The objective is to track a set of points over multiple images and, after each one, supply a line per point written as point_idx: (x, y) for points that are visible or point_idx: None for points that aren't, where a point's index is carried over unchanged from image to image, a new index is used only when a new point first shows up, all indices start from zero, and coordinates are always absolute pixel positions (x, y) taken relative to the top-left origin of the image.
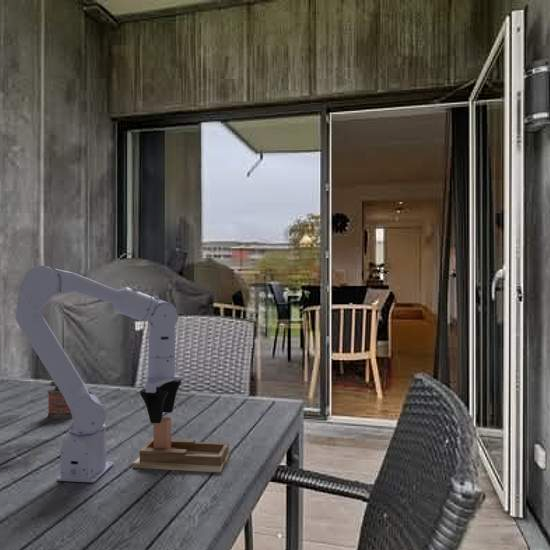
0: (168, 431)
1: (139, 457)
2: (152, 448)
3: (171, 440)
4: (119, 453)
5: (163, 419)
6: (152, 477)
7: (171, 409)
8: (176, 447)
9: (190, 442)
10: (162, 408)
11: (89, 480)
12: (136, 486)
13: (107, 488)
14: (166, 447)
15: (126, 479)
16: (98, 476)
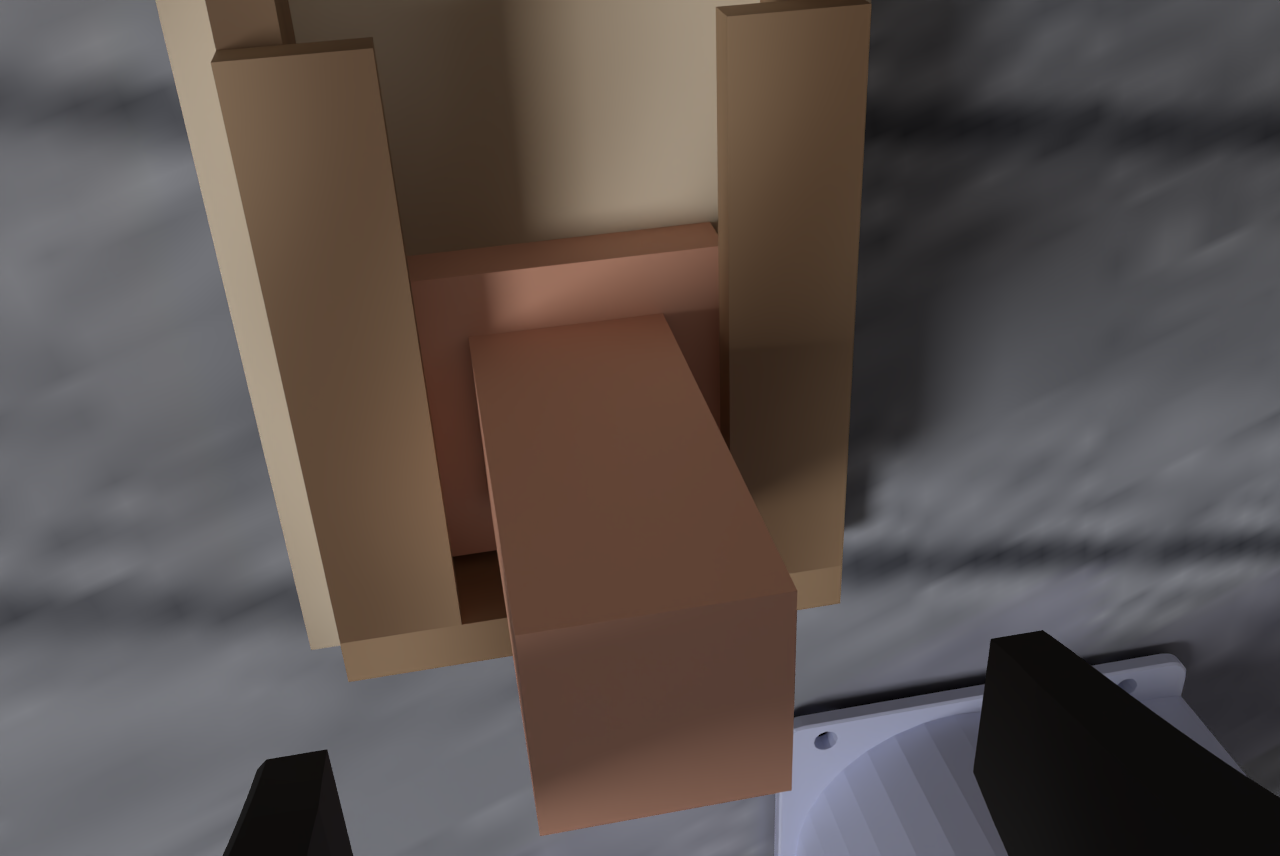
0: (650, 479)
1: None
2: None
3: (387, 414)
4: (485, 815)
5: (661, 702)
6: (1053, 238)
7: (326, 800)
8: None
9: (378, 86)
10: (1250, 815)
11: (1181, 690)
12: (1257, 291)
13: (1271, 504)
14: (683, 357)
15: (1095, 453)
16: (1105, 675)
